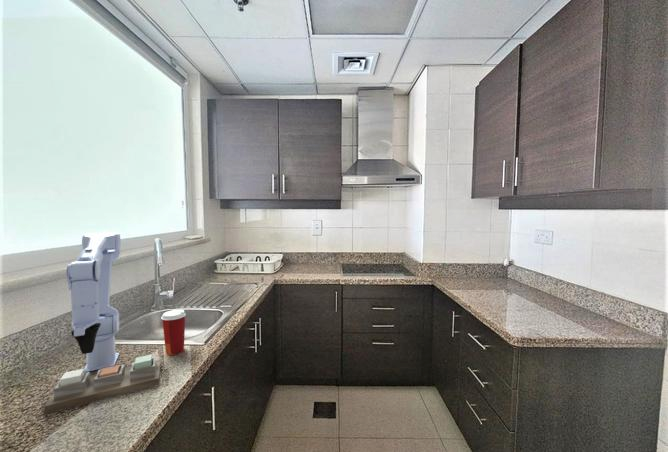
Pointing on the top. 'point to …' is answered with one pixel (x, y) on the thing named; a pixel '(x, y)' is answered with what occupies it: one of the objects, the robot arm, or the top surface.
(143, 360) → the sage button
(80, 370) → the cream button
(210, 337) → the top surface
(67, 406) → the button board
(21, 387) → the top surface
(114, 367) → the terracotta button
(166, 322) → the paper cup
